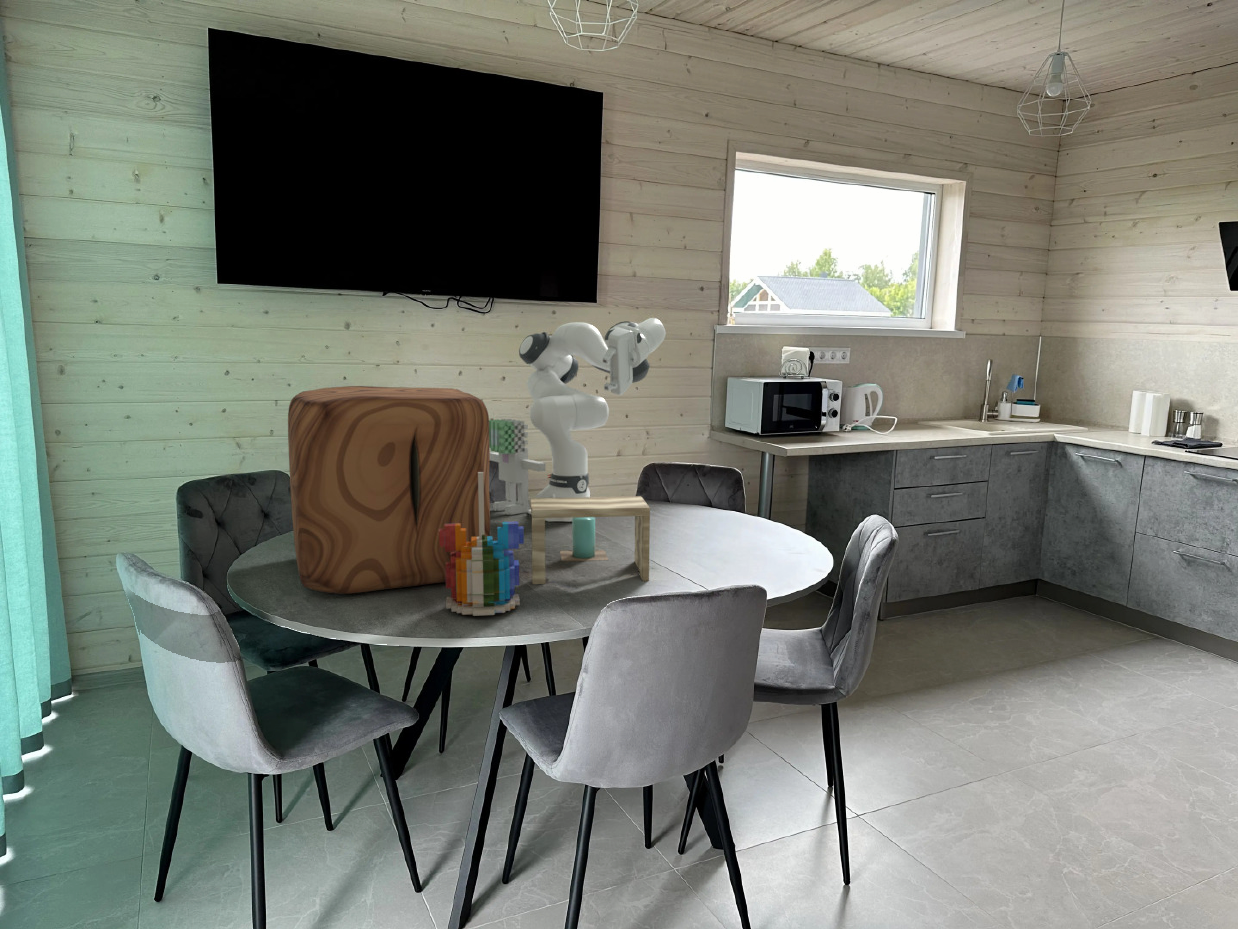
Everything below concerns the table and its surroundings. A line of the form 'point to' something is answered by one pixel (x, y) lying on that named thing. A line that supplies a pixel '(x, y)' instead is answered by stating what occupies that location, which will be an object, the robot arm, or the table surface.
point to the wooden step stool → (589, 508)
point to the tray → (568, 557)
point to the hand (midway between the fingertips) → (605, 374)
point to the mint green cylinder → (583, 537)
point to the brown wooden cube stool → (383, 483)
